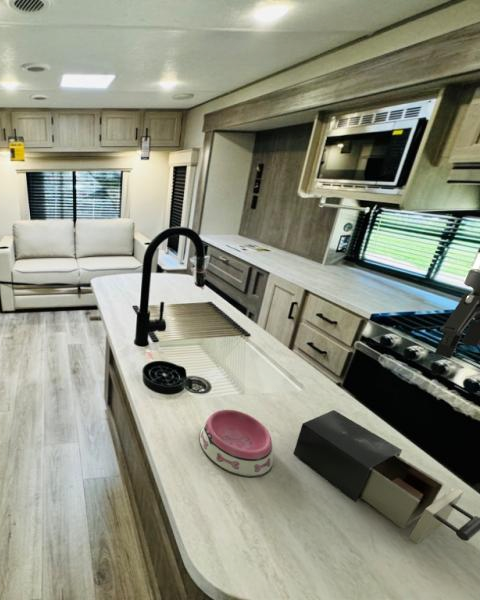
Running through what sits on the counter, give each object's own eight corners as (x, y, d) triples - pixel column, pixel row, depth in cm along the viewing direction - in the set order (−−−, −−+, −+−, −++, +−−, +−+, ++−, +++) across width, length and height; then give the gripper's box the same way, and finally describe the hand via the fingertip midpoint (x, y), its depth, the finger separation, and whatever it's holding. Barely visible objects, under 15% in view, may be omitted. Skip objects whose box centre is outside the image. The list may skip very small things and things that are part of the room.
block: (416, 508, 68) (423, 494, 66) (404, 516, 66) (412, 502, 65) (391, 491, 71) (397, 477, 70) (379, 498, 70) (386, 484, 68)
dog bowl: (287, 480, 77) (293, 459, 74) (209, 474, 78) (213, 454, 76) (255, 425, 94) (259, 406, 91) (192, 421, 96) (194, 403, 93)
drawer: (476, 542, 62) (497, 512, 59) (447, 567, 58) (467, 537, 55) (370, 470, 78) (382, 443, 75) (341, 486, 74) (353, 459, 71)
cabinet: (386, 482, 76) (402, 449, 72) (354, 502, 71) (369, 468, 67) (323, 439, 88) (333, 409, 84) (293, 454, 84) (302, 423, 80)
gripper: (493, 283, 66) (452, 368, 74) (542, 269, 74) (500, 346, 82) (444, 274, 72) (410, 353, 80) (494, 262, 81) (459, 334, 89)
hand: (456, 350), depth 81 cm, fingers open, 13 cm apart
